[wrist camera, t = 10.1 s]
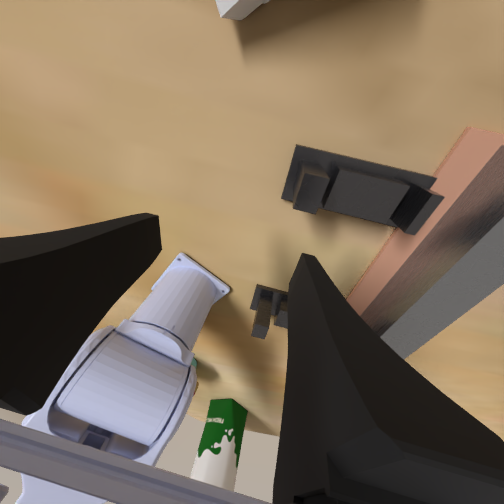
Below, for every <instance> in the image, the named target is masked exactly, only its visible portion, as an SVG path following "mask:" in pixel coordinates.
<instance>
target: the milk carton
mask: <svg viewBox="0 0 504 504" xmlns="http://www.w3.org/2000/svg"><path fill="white" fill-rule="evenodd" d="M247 412H248V411H247V410H245V409H244V408H243V407H242V406H240V405H239V404H238V403H237V402H235V401H234V400H233V399H220V400H211V401H210V406H209V410H208V415H207V420H206V424H205V428H204V431H203V435H202V438H201V442H200V445H199V448H198V452H197V455H196V459H195V462H194V465H193V469H192V472H191V476H190V478H191V479H195V480H198V481H201V482H204V483H208V484H211V485H214V486H217V487H220V488H224V489H227V490H230V491H233V492H234V486H235V480H236V474H237V467H238V462H239V456H240V450H241V444H242V437H243V432H244V427H245V422H246V417H247Z"/></svg>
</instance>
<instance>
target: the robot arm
mask: <svg viewBox="0 0 504 504" xmlns="http://www.w3.org/2000/svg"><path fill="white" fill-rule="evenodd" d="M161 250H162V245H161V236H160V226H159V216H157V215H153V214H150V213H141V214H135V215H130V216H126V217H121V218H117V219H112V220H108V221H104V222H99V223H95V224H90V225H85V226H80V227H75V228H70V229H65V230H59V231H53V232H47V233H40V234H33V235H25V236H16V237H5V238H0V408H3V409H6V410H10V411H13V412H16V413H19V414H23V415H27V416H26V417H25V419H24V420H23V421H22V425H18V424H15V423H12V422H9V421H6V420H2V419H0V466H1V467H4V468H7V469H11V470H13V471H16V472H20V473H21V477H22V484H23V491H22V494H21V495H20V497H19V498H18V500H17V501H16V503H15V504H103V503H105V502H107V501H109V502H113V503H116V504H271V503H268V502H265V501H262V500H259V499H255V498H252V497H249V496H246V495H243V494H239V493H236V492H233V491H230V490H227V489H224V488H220V487H217V486H214V485H211V484H208V483H204V482H201V481H198V480H195V479H191V478H188V477H185V476H182V475H178V474H175V473H172V472H169V471H166V470H163V469H159V468H156V467H155V465H156V463H157V461H158V459H159V457H160V455H161V454H162V452H163V450H164V449H165V447H166V445H167V444H168V442H169V441H170V440H171V439H172V437H173V436H174V435H175V433H176V431H177V429H178V428H179V426H180V424H181V423H182V421H183V419H184V417H185V414H186V412H187V410H188V408H189V405H190V403H191V400H192V397H193V394H194V391H195V388H196V383H197V375H196V368H195V366H193V365H191V362H192V360H193V357H194V355H195V354H194V353H192V352H191V351H192V349H193V347H194V344H195V342H196V340H197V338H198V335H199V333H200V331H201V329H202V326H203V324H204V322H205V320H206V317H207V315H208V313H209V311H210V309H211V306H212V305H213V304H214V303H215V302H217V301H218V300H219V299H221V298H222V297H223V296H224V295H226V294H227V293H228V292H229V291H230V287H229V286H227V285H226V284H225V283H223V282H222V281H221V280H219V279H218V278H217V277H215V276H214V275H212V274H211V273H210V272H208V271H207V270H206V269H204V268H203V267H202V266H200V265H199V264H198V263H196V262H195V261H193V260H192V259H191V258H189V257H188V256H187V255H185V254H184V253H179V254H178V255H177V257H176V258H175V259H174V260H173V262H172V263H171V264H170V265H169V267H168V268H167V269H166V270H165V272H164V273H163V274H162V275H161V277H160V278H159V279H158V280H157V282H156V283H155V284H154V285H153V287H152V288H151V289H152V292H151V293H150V295H149V296H148V297H147V298H146V299H145V301H144V302H143V303H142V304H141V305H140V307H139V308H138V309H137V310H136V311H135V313H134V314H133V315H132V316H131V317H130V319H129V320H127V319H124V320H123V321H122V323H121V324H120V325H119V326H118V327H117V328H116V327H114V326H112V325H109V326H107V327H104V328H101V329H98V330H96V331H95V332H94V333H92V332H93V330H94V329H95V328H96V326H97V325H98V324H99V322H100V321H101V320H102V318H103V317H104V316H105V315H106V313H107V312H108V311H109V310H110V308H111V307H112V306H113V305H114V304H115V302H116V301H117V300H118V299H119V298H120V297H121V296H122V295H123V294H124V293H125V292H126V291H127V290H128V289H129V288H130V287H131V286H132V284H133V283H134V282H135V281H136V280H137V279H138V278H139V277H140V276H141V275H142V274H143V273H144V272H145V271H146V270H147V269H148V268H149V267H150V266H151V264H152V263H153V262H154V260H155V259H156V258H157V256H158V255H159V253H160V252H161ZM179 258H180V259H181V260H180V259H179ZM223 290H224V291H223ZM287 315H288V359H287V372H286V383H285V394H284V404H283V413H282V422H281V431H280V439H279V447H278V455H277V463H276V470H275V477H274V485H273V503H272V504H504V442H503V440H502V439H501V438H500V437H499V436H498V435H496V434H495V433H494V432H492V431H491V430H490V429H489V428H487V427H486V426H485V425H483V424H482V423H481V422H480V421H478V420H477V419H476V418H474V417H473V416H472V415H470V414H469V413H468V412H467V411H465V410H464V409H463V408H461V407H460V406H459V405H458V404H456V403H455V402H454V401H452V400H451V399H450V398H449V397H447V396H446V395H445V394H443V393H442V392H441V391H440V390H439V389H437V388H436V387H435V386H434V385H433V384H431V383H430V382H429V381H428V380H427V379H426V378H424V377H423V376H422V375H421V374H420V373H418V372H417V371H416V370H415V369H414V368H413V367H411V366H410V365H409V364H408V363H407V362H406V361H405V360H404V359H402V358H401V357H400V356H399V355H398V354H397V353H396V352H395V351H394V350H393V349H392V348H391V347H390V346H389V345H387V344H386V343H385V342H384V341H383V340H382V339H381V338H380V337H379V336H378V335H377V334H376V333H375V332H374V331H373V330H372V329H371V328H370V327H369V325H368V324H367V323H366V322H365V321H364V320H363V319H362V318H361V317H360V316H359V315H358V314H357V312H356V311H355V310H354V309H353V308H352V307H351V305H350V304H349V303H348V302H347V300H346V299H345V298H344V297H343V295H342V294H341V293H340V291H339V290H338V289H337V287H336V286H335V285H334V283H333V282H332V280H331V279H330V278H329V276H328V275H327V273H326V272H325V270H324V269H323V267H322V266H321V264H320V263H319V261H318V260H317V258H316V257H315V256H313V255H309V254H305V253H302V254H301V257H300V259H299V261H298V264H297V266H296V269H295V271H294V273H293V276H292V278H291V281H290V283H289V291H288V300H287ZM91 333H92V334H91ZM90 334H91V335H90ZM8 490H9V487H7V486H5V485H2V484H0V502H1V501H2V500H3V498H4V497H5V496H6V495H7V493H8Z"/></svg>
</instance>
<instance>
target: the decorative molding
mask: <svg viewBox="0 0 504 504" xmlns="http://www.w3.org/2000/svg"><path fill="white" fill-rule="evenodd" d="M215 1H216V4H217V7H218V10H219V13H220V16H221V18H227V19H233V20H240V21H241V20H242V19H244V18H245V17H247V16H248V15H249V14H250V13H251V12H253V11H254V10H255V9H256V8H257V7H258V6H260V5H261V4H262V3H264V4H266V3H267V2H269V1H270V0H215Z"/></svg>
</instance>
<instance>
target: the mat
mask: <svg viewBox="0 0 504 504" xmlns="http://www.w3.org/2000/svg"><path fill="white" fill-rule="evenodd" d="M501 145H504V134H500V133H495V132H491V131H486V130H482V129H477V128H473V127H467V128H466V129H465V131H464V132H463V134H462V135H461V137H460V138H459V139H458V141H457V142H456V144H455V145H454V147H453V148H452V149H451V151H450V152H449V154H448V155H447V157H446V158H445V159H444V161H443V162H442V164H441V165H440V166H439V168H438V169H437V171H436V172H435V174H434V175H433V177H436V178H437V180H436V181H435V183H434V184H433V185H432V187H431V188H430V190H432V191H434V192H436V193H438V194H440V195H442V196H444V197H445V198H444V199H443V200H442V202H441V203H440V204H439V206H438V207H437V208H436V209H435V211H434V212H433V213H432V214H431V216H430V217H429V218H428V220H427V221H426V222H425V223H424V225H423V226H422V227H421V228H420V230H419V231H418V232H417V234H416V235H415V236H414V235H410V234H406V233H404V232H403V231H402V230H401V229H400V228H398V227H397V228H396V229H395V231H394V232H393V233H392V235H391V236H390V238H389V239H388V240H387V242H386V243H385V245H384V246H383V248H382V249H381V250H380V252H379V253H378V255H377V256H376V258H375V259H374V260H373V262H372V263H371V265H370V266H369V268H368V269H367V270H366V272H365V273H364V275H363V276H362V277H361V279H360V280H359V282H358V283H357V285H356V286H355V287H354V289H353V290H352V292H351V293H350V295H349V296H348V297H347V299H346V300H347V302H348V303H349V304H350V305H351V307H352V308H353V309H354V310H355V311H356V312H357V314H358V315H359V316H361V314H362V313H363V312H364V311H365V309H366V308H367V307H368V306H369V305H370V303H371V302H372V301H373V300H374V299H375V297H376V296H377V295H378V294H379V293H380V291H381V290H382V289H383V288H384V287H385V285H386V284H387V283H388V282H389V280H390V279H391V278H392V277H393V276H394V274H395V273H396V272H397V271H398V270H399V268H400V267H401V266H402V265H403V264H404V262H405V261H406V260H407V259H408V257H409V256H410V255H411V254H412V253H413V251H414V250H415V249H416V248H417V247H418V245H419V244H420V243H421V242H422V241H423V239H424V238H425V237H426V236H427V235H428V233H429V232H430V231H431V230H432V228H433V227H434V226H435V225H436V224H437V222H438V221H439V220H440V219H441V218H442V216H443V215H444V214H445V213H446V212H447V210H448V209H449V208H450V207H451V206H452V204H453V203H454V202H455V201H456V199H457V198H458V197H459V196H460V195H461V193H462V192H463V191H464V190H465V189H466V187H467V186H468V185H469V184H470V183H471V181H472V180H473V179H474V178H475V177H476V175H477V174H478V173H479V172H480V170H481V169H482V168H483V167H484V166H485V164H486V163H487V162H488V161H489V160H490V158H491V157H492V156H493V155H494V154H495V152H496V151H497V150H498V149H499V148H500V146H501Z"/></svg>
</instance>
